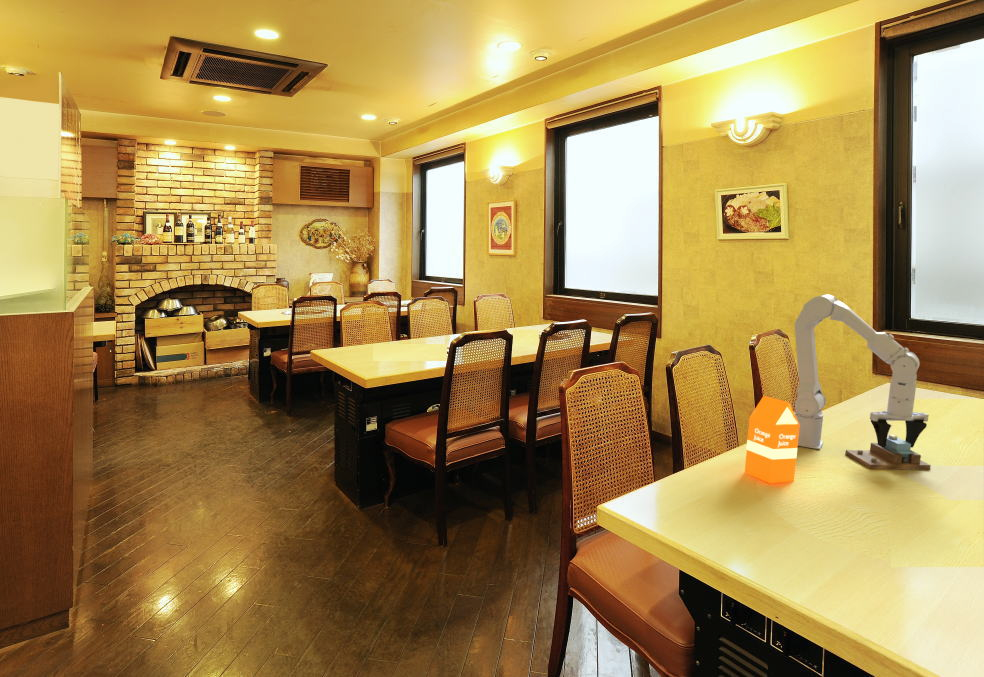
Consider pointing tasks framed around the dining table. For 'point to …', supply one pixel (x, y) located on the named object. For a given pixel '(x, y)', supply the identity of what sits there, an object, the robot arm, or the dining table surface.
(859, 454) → the board
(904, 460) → the block
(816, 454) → the dining table surface
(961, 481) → the dining table surface
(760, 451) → the orange juice
